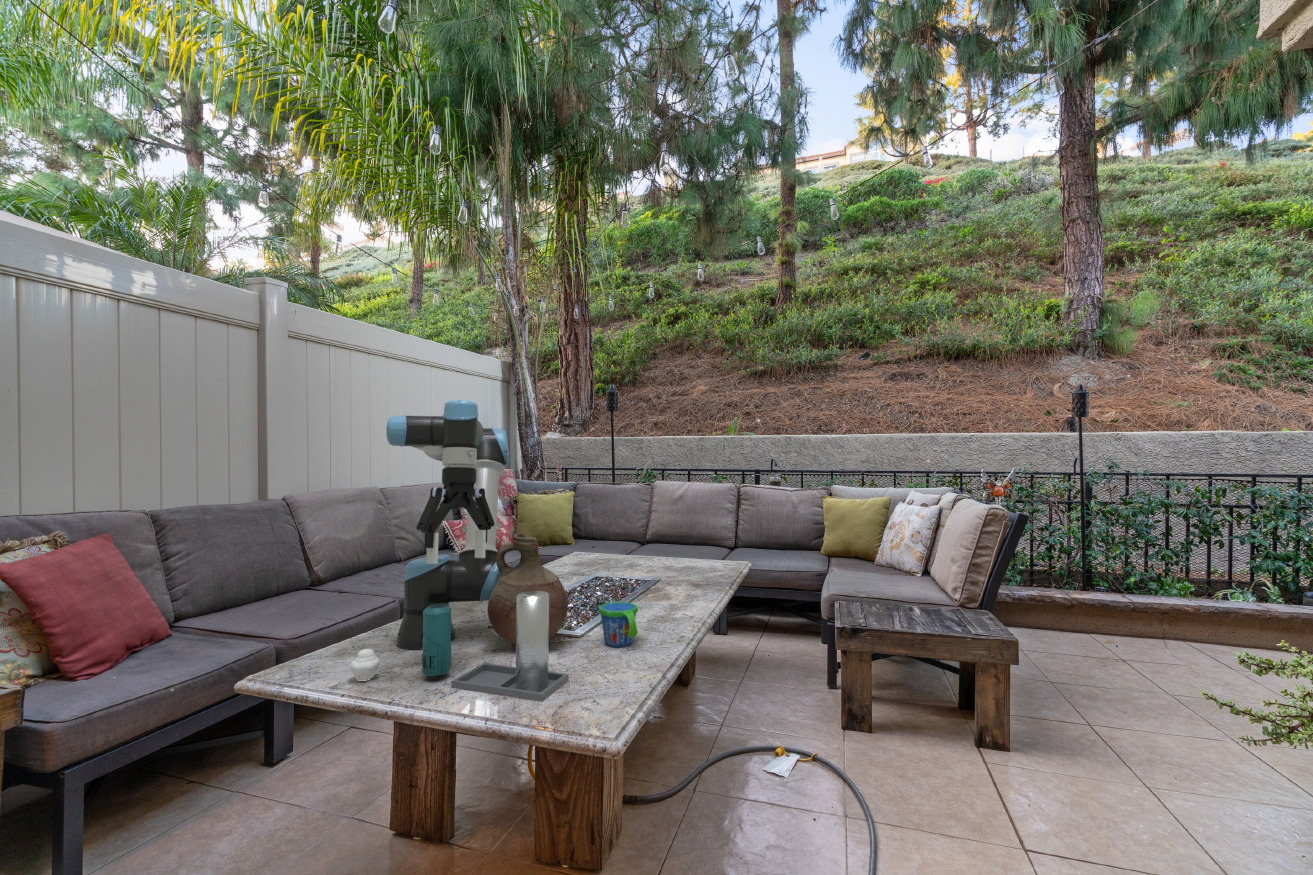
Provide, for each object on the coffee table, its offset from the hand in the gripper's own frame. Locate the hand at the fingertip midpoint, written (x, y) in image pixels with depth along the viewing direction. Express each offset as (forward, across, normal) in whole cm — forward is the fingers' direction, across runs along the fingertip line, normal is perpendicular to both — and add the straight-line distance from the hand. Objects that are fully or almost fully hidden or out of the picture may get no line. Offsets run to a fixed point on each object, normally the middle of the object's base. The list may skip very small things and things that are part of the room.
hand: (457, 560), depth 127 cm
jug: (+26, +30, +6) cm, 40 cm away
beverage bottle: (+28, +3, +9) cm, 29 cm away
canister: (+27, +7, -16) cm, 33 cm away
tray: (+28, +6, -11) cm, 31 cm away
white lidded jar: (+27, -6, +22) cm, 36 cm away
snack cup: (+26, +44, -15) cm, 53 cm away
